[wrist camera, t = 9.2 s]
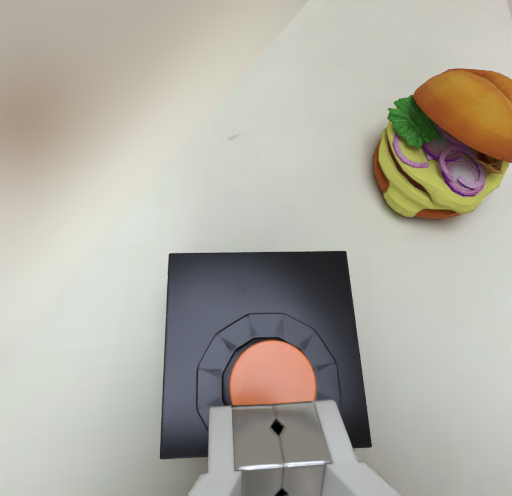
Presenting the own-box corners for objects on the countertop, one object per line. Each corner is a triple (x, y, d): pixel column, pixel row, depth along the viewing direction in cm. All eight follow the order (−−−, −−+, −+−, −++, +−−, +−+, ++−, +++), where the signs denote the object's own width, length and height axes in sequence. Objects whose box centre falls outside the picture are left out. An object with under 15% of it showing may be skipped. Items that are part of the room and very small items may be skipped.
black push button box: (333, 434, 24) (388, 460, 16) (178, 443, 24) (151, 475, 15) (318, 283, 28) (356, 238, 19) (183, 285, 27) (163, 241, 19)
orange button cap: (310, 426, 16) (321, 431, 15) (229, 430, 16) (229, 436, 14) (303, 343, 18) (312, 338, 16) (228, 345, 17) (228, 340, 16)
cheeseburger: (336, 179, 31) (401, 70, 23) (390, 125, 37) (457, 22, 28) (441, 254, 29) (553, 165, 21) (480, 185, 35) (580, 93, 26)
